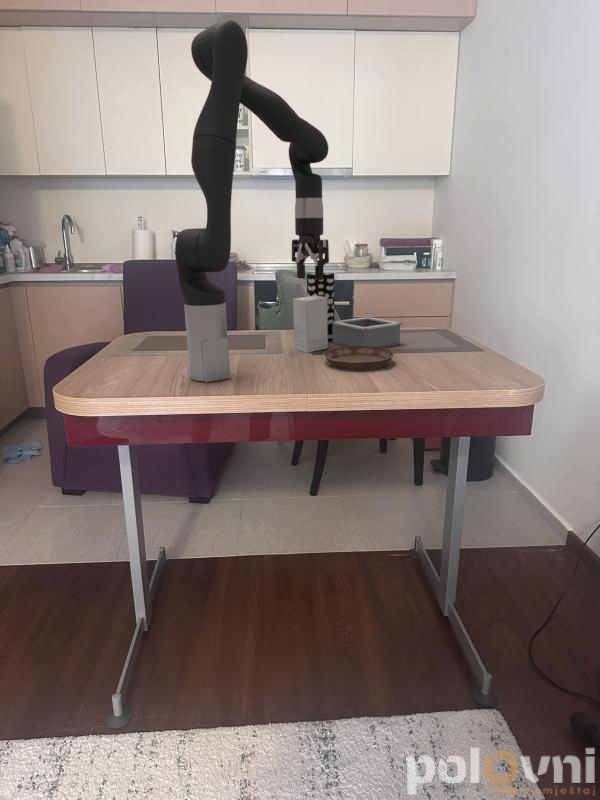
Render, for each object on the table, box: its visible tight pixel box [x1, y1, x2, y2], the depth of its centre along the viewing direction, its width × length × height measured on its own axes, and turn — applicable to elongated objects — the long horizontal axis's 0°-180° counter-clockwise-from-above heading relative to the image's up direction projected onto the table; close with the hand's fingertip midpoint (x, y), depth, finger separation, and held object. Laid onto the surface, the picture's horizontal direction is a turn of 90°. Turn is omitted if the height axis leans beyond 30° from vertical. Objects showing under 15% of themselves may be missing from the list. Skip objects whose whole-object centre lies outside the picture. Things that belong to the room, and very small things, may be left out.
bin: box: [331, 316, 403, 349], centre depth 158 cm, size 15×15×6 cm
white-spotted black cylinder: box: [306, 272, 335, 343], centre depth 163 cm, size 8×8×20 cm
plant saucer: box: [323, 346, 395, 371], centre depth 136 cm, size 18×18×3 cm
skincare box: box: [292, 295, 329, 354], centre depth 151 cm, size 8×6×15 cm
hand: (309, 279), depth 147 cm, fingers open, 8 cm apart
